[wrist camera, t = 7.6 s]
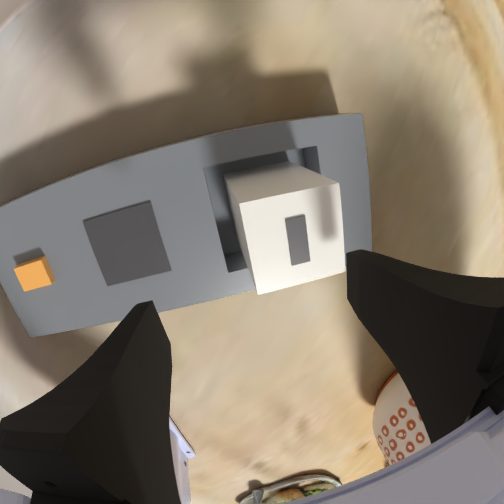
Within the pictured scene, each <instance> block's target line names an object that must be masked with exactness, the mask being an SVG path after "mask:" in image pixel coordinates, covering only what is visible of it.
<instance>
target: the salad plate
mask: <svg viewBox="0 0 504 504" xmlns="http://www.w3.org/2000/svg"><path fill="white" fill-rule="evenodd" d="M312 480H321V481H324V482H322V483H317V484H313V485H310V486H305V487H295V486H290V485H292V484H295V483H300V482H305V481H312ZM341 485H342V483H341V482H340V481H339V480H335V479H334V478H332V477H329V476H325V475H318V474H310V475H303V476H298V477H293V478H290V479H286V480H283V481H281V482H278V483H275V484H272V485H269V486H266V487H262V488H260V489H255V490H252V494H250V495H249V496H247V497H245V498H244V499H243V500H242V501H241V502H240V503H239V504H281V503H285V502H289V501H293V500H297V499H300V498H304V497H307V496H311V495H314V494H317V493H321V492H324V491H327V490H330V489H333V488H336V487H338V486H341Z"/></svg>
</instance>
